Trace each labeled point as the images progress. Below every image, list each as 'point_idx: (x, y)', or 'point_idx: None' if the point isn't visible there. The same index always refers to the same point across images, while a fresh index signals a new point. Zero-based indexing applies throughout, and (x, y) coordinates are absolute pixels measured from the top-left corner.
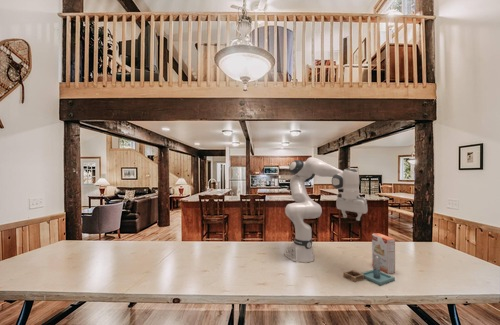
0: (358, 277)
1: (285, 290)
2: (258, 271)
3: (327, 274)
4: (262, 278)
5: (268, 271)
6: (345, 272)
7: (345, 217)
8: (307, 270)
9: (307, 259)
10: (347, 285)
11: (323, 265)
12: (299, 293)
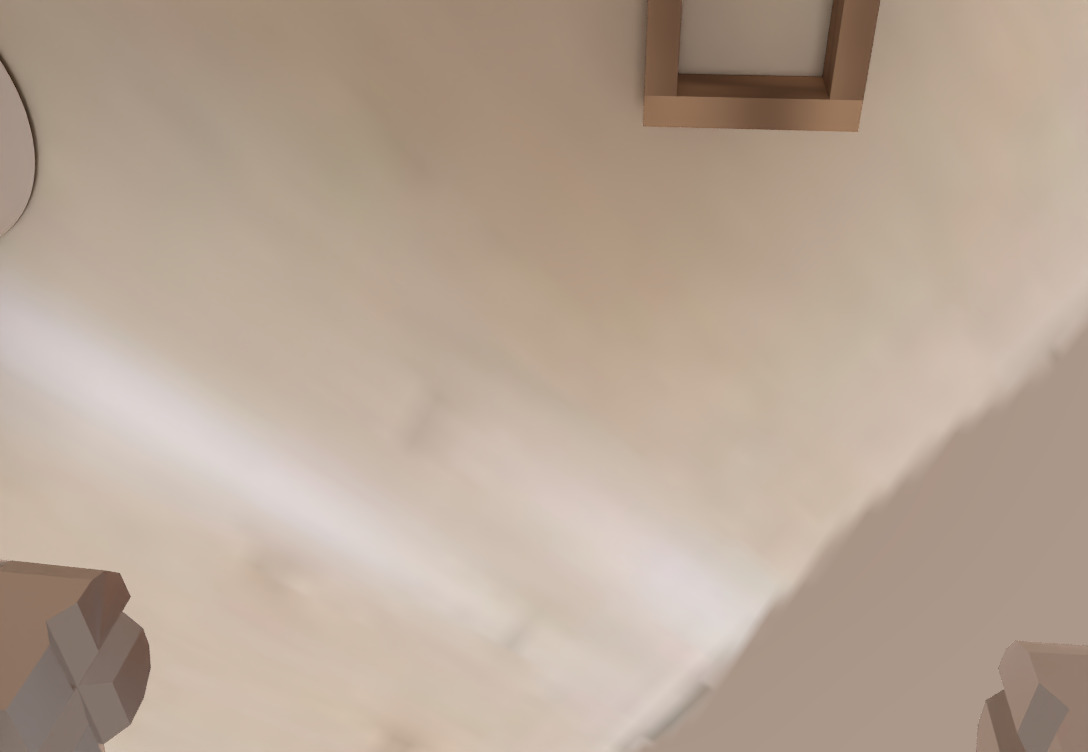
0: (870, 45)
1: (577, 703)
2: (166, 666)
3: (482, 219)
4: (312, 707)
5: (189, 616)
6: (656, 92)
7: (145, 659)
8: (284, 331)
9: (4, 169)
10: (840, 253)
11: (192, 29)
12: (675, 667)
